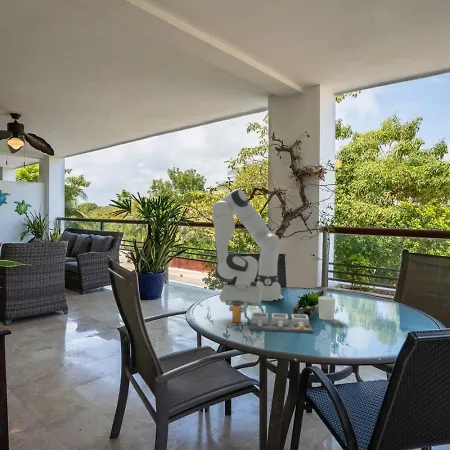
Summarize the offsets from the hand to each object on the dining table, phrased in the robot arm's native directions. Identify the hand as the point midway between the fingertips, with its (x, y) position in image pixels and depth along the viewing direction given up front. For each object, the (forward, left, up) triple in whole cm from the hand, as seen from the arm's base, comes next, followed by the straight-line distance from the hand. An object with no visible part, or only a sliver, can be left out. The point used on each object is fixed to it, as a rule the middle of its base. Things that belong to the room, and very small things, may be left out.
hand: (236, 311), depth 166 cm
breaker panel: (+2, +20, -5) cm, 21 cm away
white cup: (-13, +43, -5) cm, 45 cm away
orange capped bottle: (-1, 0, -5) cm, 5 cm away
